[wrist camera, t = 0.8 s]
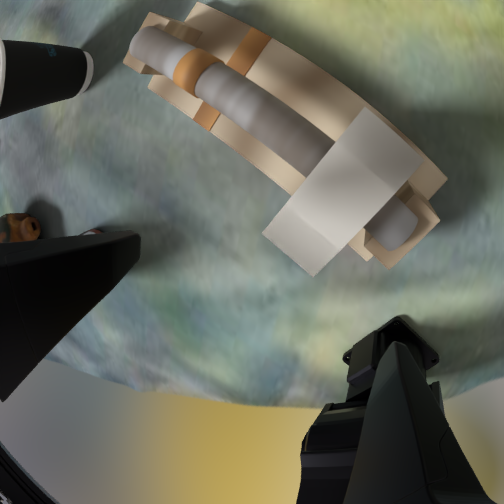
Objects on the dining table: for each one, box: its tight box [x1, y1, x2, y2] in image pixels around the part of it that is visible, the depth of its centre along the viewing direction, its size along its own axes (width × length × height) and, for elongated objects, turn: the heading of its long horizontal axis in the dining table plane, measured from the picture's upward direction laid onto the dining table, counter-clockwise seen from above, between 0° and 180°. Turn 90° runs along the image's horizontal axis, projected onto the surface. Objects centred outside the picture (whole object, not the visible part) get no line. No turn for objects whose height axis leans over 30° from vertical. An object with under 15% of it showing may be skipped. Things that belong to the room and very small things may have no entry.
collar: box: [262, 107, 425, 277], centre depth 15 cm, size 3×7×7 cm, turn 146°
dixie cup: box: [0, 39, 94, 119], centre depth 19 cm, size 8×8×11 cm
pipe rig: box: [123, 1, 448, 270], centre depth 16 cm, size 21×8×6 cm, turn 55°
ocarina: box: [0, 213, 41, 243], centre depth 34 cm, size 10×15×8 cm, turn 123°
